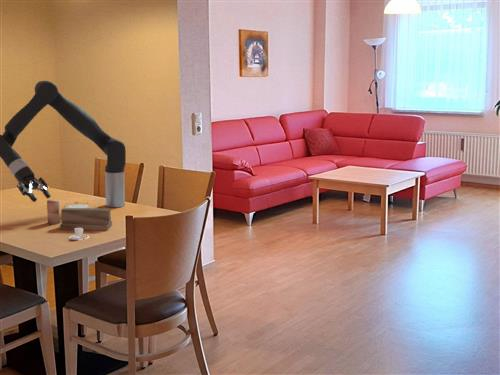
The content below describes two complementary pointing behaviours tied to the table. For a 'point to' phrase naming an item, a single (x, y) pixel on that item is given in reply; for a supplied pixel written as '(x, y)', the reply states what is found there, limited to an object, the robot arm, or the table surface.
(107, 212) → the ridge
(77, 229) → the teacup and saucer
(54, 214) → the pink domed cylinder
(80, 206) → the baseboard molding
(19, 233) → the table surface
